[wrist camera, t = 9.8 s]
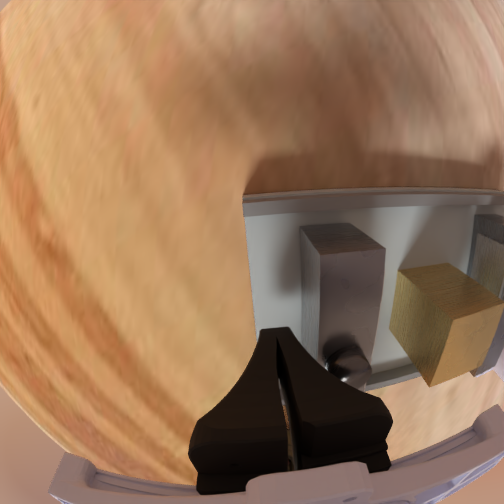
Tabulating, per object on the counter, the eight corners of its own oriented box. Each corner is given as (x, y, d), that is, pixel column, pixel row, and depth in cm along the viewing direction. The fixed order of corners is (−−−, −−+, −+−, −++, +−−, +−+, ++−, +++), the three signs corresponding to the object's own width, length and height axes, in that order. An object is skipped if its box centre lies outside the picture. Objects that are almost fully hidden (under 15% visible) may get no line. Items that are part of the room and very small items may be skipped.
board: (496, 189, 14) (515, 195, 12) (466, 342, 18) (478, 354, 16) (242, 195, 14) (242, 201, 12) (262, 387, 18) (263, 408, 16)
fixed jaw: (495, 213, 13) (536, 229, 9) (468, 337, 16) (495, 366, 13) (472, 214, 13) (515, 232, 9) (444, 346, 16) (471, 378, 13)
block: (448, 262, 14) (505, 302, 9) (437, 317, 15) (481, 365, 10) (397, 270, 14) (453, 320, 9) (388, 328, 15) (429, 387, 10)
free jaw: (354, 222, 13) (405, 257, 8) (342, 375, 16) (364, 434, 11) (299, 226, 13) (327, 266, 8) (300, 381, 16) (314, 444, 12)
